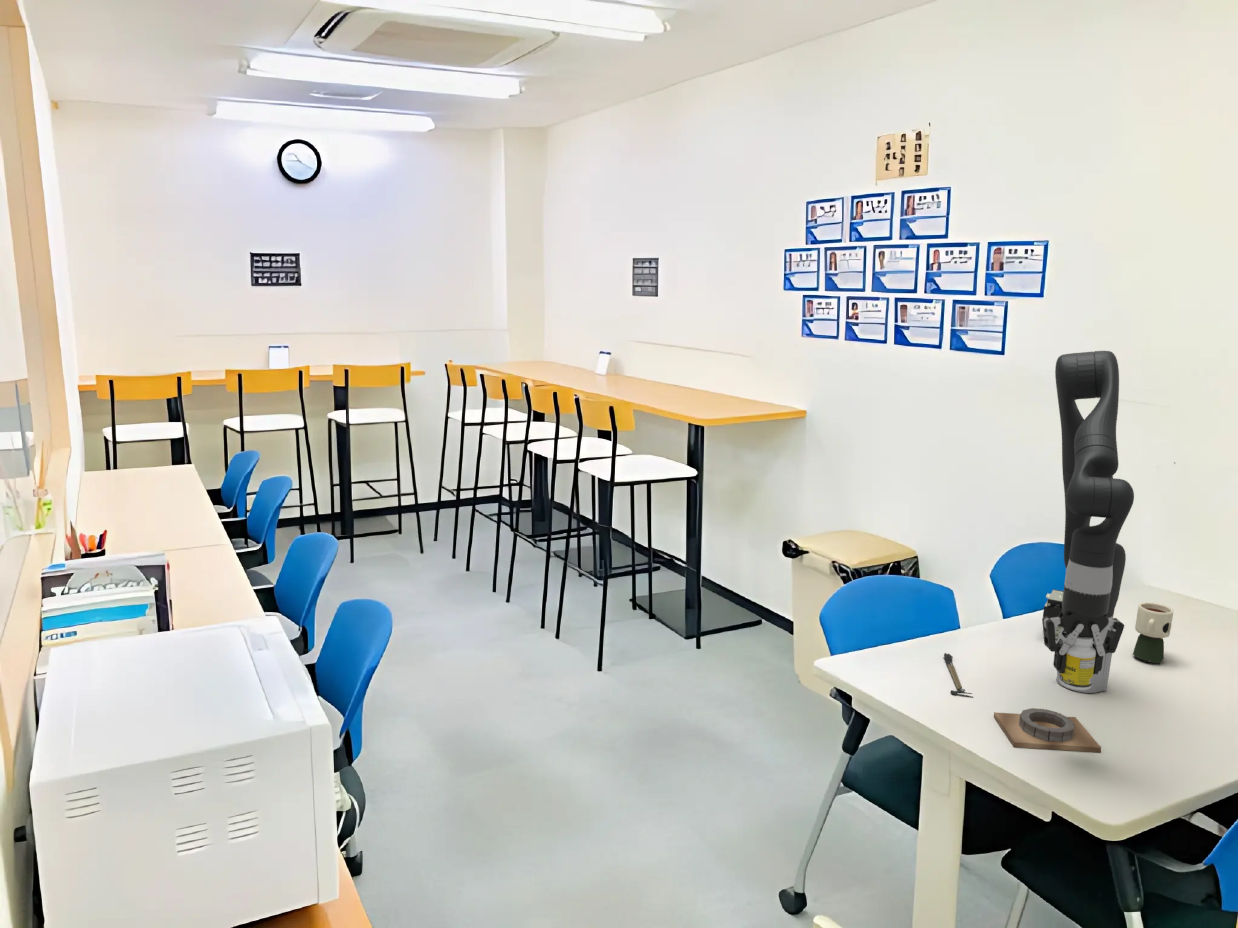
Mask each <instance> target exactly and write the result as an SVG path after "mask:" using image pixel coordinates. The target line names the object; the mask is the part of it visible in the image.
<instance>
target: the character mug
mask: <svg viewBox="0 0 1238 928" xmlns="http://www.w3.org/2000/svg"><path fill="white" fill-rule="evenodd" d="M1173 617H1174V610H1173V608H1171V607H1169V606H1167V605H1164V604H1160V603H1155V602H1140V603H1139V604H1138V607H1137V614H1136V620H1135V627H1134V630H1135V631H1136V632H1137V633H1139V635H1138V636H1137V640H1136V641H1135V645H1134V648H1133V652H1132V655H1133V656H1134V657H1136V658H1137V659H1140V660H1144V661H1145V662H1147V663H1148V662H1150V663H1153V664H1155V663H1156V664H1159V663H1163V661H1164V655H1165V645H1164V644H1165V641H1164V638H1168V637H1170V634H1171V629H1172V622H1173Z"/></svg>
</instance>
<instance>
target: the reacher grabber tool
mask: <svg viewBox="0 0 1238 928" xmlns="http://www.w3.org/2000/svg"><path fill="white" fill-rule="evenodd" d="M943 657H944V663H945V666H946V668H947V670H948V672H949V675H950V677H951V680H952V682H953V684H954V687H955V688H956V690H953V689H952V690H950V695H951V696H953V697H956V696H957V697H963V698H969V699H971V698H972V699H974V696H971V695H973V693H972V692H966V689H965V688H963V686H962V683H961V681H960V679H959V675H958V673H957V670H956V667H955V665H954V663H953V656H952V655H951V654H950V653H947V652H945V653H943ZM967 694H968V695H967Z"/></svg>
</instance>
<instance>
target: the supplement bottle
mask: <svg viewBox="0 0 1238 928" xmlns="http://www.w3.org/2000/svg"><path fill="white" fill-rule="evenodd" d="M1092 645H1093V638H1082V637H1077V638H1076V640H1075V641H1074V643H1073V645H1071V646H1070V647H1069V648H1068V650H1067V652H1066V653H1065V655H1066V664H1065V672H1064V673H1060V682H1061V684H1063V685H1064V686H1066V687H1068V688H1071V689H1074V690H1087V689H1090V688H1091V686H1092V679H1093V672H1094V664H1095V656H1096V651H1095V649H1094V648H1093V647H1092ZM1064 686H1063V687H1064ZM1066 687H1065V688H1066ZM1068 688H1067V689H1068ZM1071 689H1070V690H1071ZM1074 690H1073V691H1074Z"/></svg>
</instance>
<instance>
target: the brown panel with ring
mask: <svg viewBox="0 0 1238 928" xmlns="http://www.w3.org/2000/svg"><path fill="white" fill-rule="evenodd" d="M993 718H994V720H995V721H996V723H997V725H999V727H1000V728H1001V730H1002V732H1003V733H1004V735H1005V736H1006V737H1007V739H1008V740H1009V743H1010V744H1011V746H1012V747H1013V748H1020V749H1021V748H1023V749H1038V750H1040V749H1041V750H1052V751H1053V750H1055V751H1056V750H1057V751H1072V752H1073V751H1074V752H1088V753H1101V751H1102V746H1101V745H1100V744H1099V743H1098V742H1097V741H1096V739H1095V738H1094V737H1093V736H1092V735H1091V733H1089V731H1088V730H1087V729H1086V727H1085V726H1084V725H1083V724H1082V723H1081V722H1080V720H1079V719H1078V718H1077V717H1075V716H1066V715H1064V714H1062V713H1060V712H1057V711H1053V710H1050V709H1047V708H1046V709H1045V708H1036V707H1035V708H1034V707H1032V708H1027V709H1023V710H1021V713H1014V712H1013V713H1010V712H1008V713H1007V712H993Z"/></svg>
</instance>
